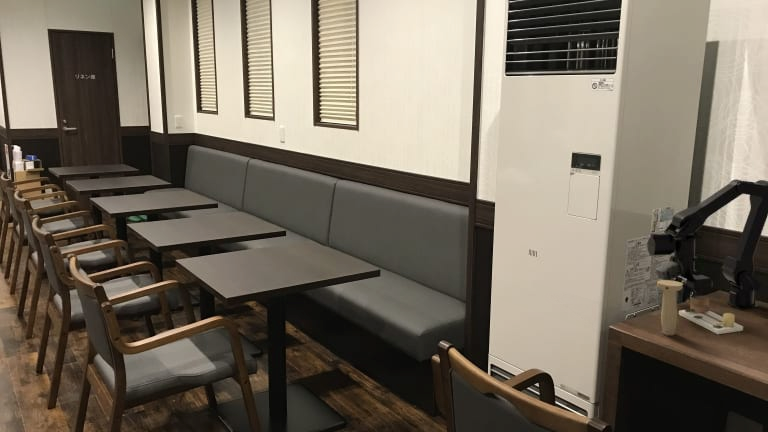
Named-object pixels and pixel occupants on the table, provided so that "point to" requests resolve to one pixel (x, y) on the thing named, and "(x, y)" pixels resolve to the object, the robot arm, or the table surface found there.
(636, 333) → the table surface
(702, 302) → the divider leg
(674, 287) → the handle
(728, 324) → the bolt plate
